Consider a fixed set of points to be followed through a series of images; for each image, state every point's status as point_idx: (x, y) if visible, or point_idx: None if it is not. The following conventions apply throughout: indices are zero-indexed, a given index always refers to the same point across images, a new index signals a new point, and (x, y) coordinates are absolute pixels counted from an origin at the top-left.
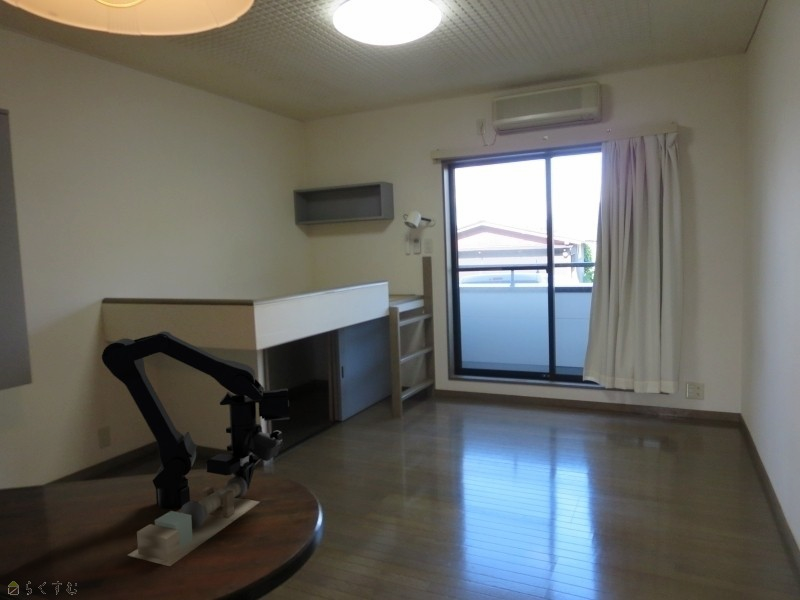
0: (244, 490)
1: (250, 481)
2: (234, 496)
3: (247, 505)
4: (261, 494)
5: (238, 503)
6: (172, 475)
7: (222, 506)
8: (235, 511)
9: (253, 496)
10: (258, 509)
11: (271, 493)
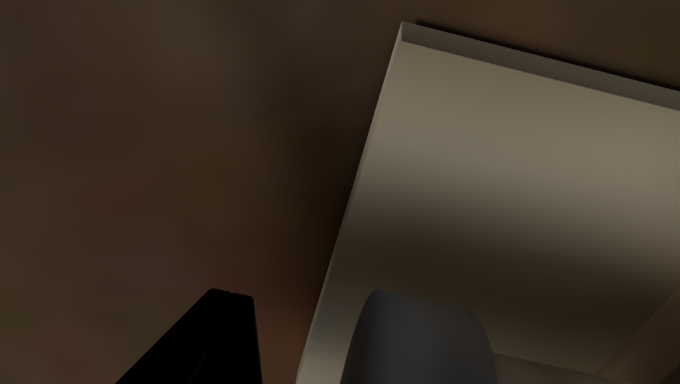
0: (454, 343)
1: (162, 351)
2: (583, 381)
3: (511, 164)
4: (104, 119)
5: (454, 262)
6: None
7: (667, 381)
8: (667, 235)
9: (178, 180)
10: (494, 7)
11: (25, 9)
